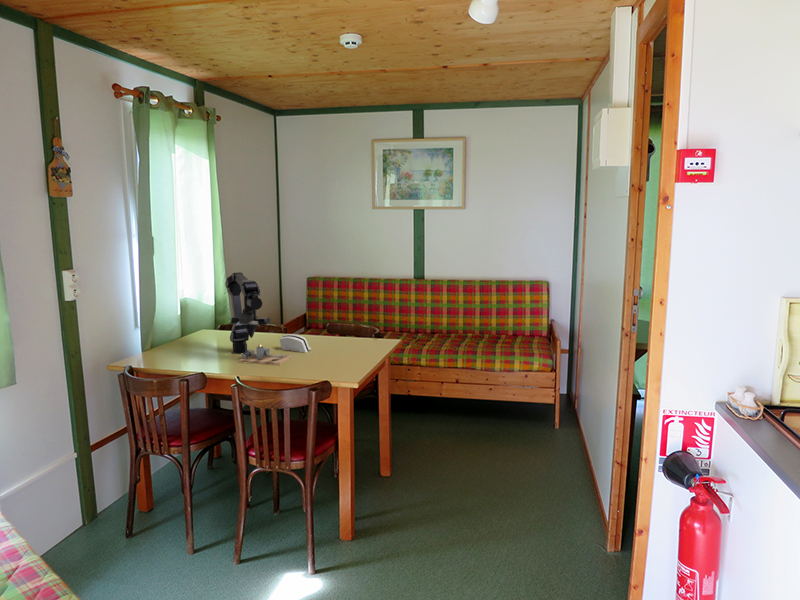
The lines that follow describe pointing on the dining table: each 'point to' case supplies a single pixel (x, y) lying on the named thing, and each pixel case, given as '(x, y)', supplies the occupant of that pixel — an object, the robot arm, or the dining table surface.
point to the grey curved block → (294, 343)
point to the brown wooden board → (265, 360)
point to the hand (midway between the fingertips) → (251, 337)
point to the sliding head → (261, 351)
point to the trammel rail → (251, 353)
